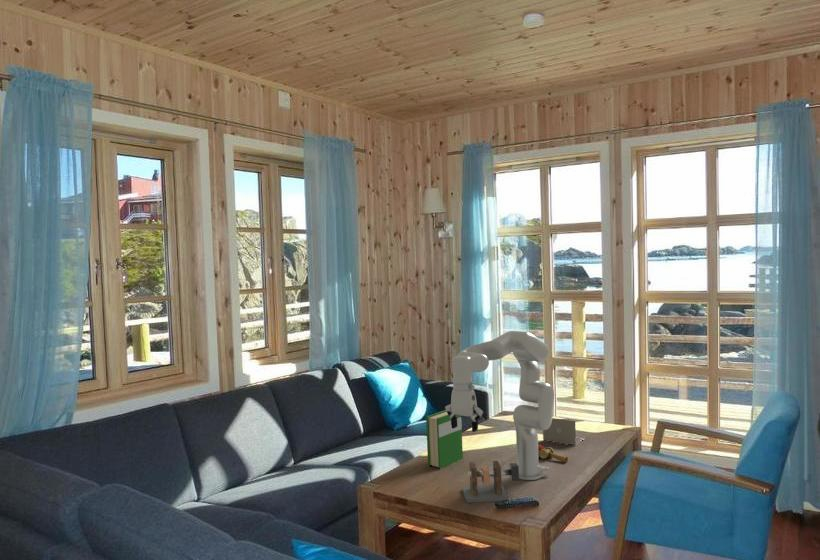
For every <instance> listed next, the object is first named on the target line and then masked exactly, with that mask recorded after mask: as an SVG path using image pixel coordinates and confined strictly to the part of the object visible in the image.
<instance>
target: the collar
mask: <svg viewBox="0 0 820 560" xmlns="http://www.w3.org/2000/svg"><path fill="white" fill-rule="evenodd" d="M480 467H481V468H480V471H483V477H481V482H482V485H491V484H490V476H489V470H490V469H489V467H488V465H481V466H480Z"/></svg>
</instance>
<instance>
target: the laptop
mask: <svg viewBox="0 0 820 560" xmlns="http://www.w3.org/2000/svg"><path fill="white" fill-rule="evenodd" d="M576 433H577V432H576V421H575V420H569V419H561V418H555V417H552V423H551V425H550V427H549V428H548V429H547V430H542V438H543V439H542V441H544V440H547V441H546V442H548V441H554V442H560V443H559V444H561V443H566V444H565V445H568V444H574V445H573V446H575V445H576V438H577V434H576ZM579 438H580V439H582V440H583V441H584V440H585V438H581V437H579ZM582 440H580V441H582ZM583 441H582V442H583ZM554 442H553V443H554ZM576 446H577V445H576Z"/></svg>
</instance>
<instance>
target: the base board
mask: <svg viewBox="0 0 820 560" xmlns="http://www.w3.org/2000/svg"><path fill="white" fill-rule="evenodd" d="M461 491H462V493H463V496H464V499H466V500H465V503H466V502H468V503H484V502H485V503H487V502H488V503H489V502H503V501H502V500H508V501H509V495H508V493H507V491H506V489H505V487H504V485H503V484H502V494H498V495H497V493H496V491H495V489H494V484H490V485H483V484H481V485H477V491H478V496H473V495H472V492H471V489H470V485H467V486H466V485H465V486H464V485H462V490H461ZM468 503H467V504H468Z"/></svg>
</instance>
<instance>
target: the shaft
mask: <svg viewBox="0 0 820 560" xmlns="http://www.w3.org/2000/svg"><path fill="white" fill-rule="evenodd" d="M508 465H509V468H507V469H505V468H504V469H501V477H503V476H509V479H510V480H511V482H519V481H520V479H519V466H518V465H517V462H513V463H509V464H508ZM467 476H468V478H470V477H471V471H470V470H469V471H468V472H467ZM494 476H496V471H495V470H493V469H491V470H490V469H489V477H494ZM482 477H483V471H481V470H477V478H482Z"/></svg>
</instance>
